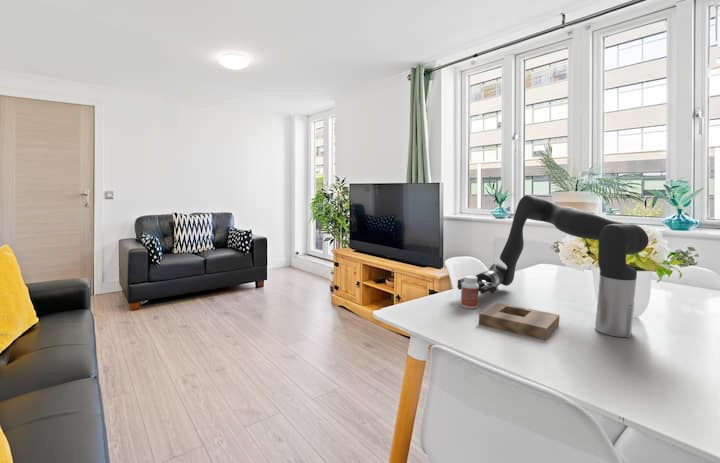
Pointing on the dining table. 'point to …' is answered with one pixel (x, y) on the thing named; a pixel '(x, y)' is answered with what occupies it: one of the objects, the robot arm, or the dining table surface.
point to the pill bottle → (469, 292)
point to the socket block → (520, 320)
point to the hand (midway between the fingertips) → (470, 288)
